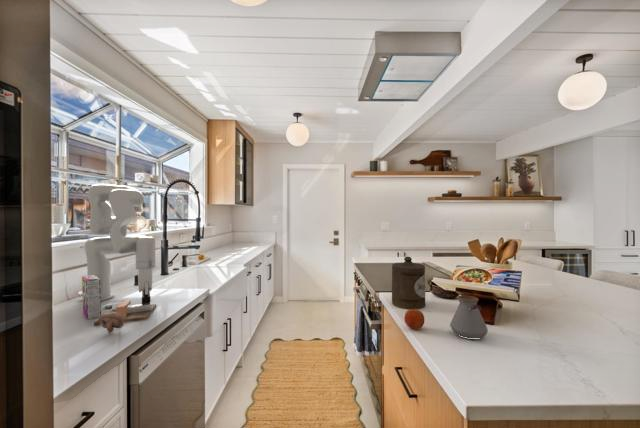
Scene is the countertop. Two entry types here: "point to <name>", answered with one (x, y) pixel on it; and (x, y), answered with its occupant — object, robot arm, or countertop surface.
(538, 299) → the countertop surface
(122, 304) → the keeper
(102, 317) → the mushroom
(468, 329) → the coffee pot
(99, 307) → the candy bar box
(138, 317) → the board
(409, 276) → the wooden container
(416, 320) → the fruit
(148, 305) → the link
